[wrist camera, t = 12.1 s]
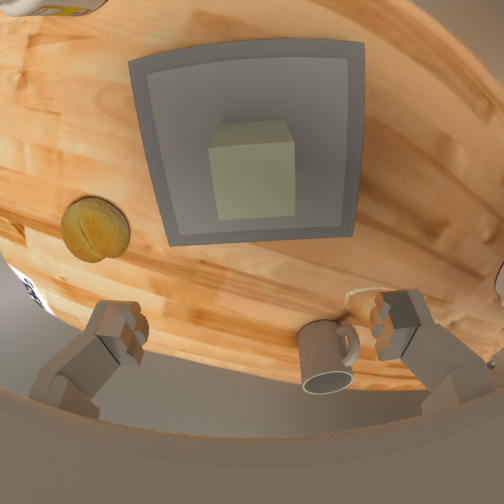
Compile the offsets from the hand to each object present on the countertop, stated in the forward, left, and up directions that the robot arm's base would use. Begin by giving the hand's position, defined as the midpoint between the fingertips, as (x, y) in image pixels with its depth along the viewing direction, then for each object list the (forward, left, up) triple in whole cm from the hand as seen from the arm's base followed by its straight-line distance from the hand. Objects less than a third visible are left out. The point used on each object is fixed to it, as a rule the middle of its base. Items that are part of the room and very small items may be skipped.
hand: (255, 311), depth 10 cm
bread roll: (+20, +9, -21) cm, 30 cm away
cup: (-9, +29, -21) cm, 37 cm away
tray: (0, 0, -20) cm, 20 cm away
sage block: (0, 0, -16) cm, 16 cm away
